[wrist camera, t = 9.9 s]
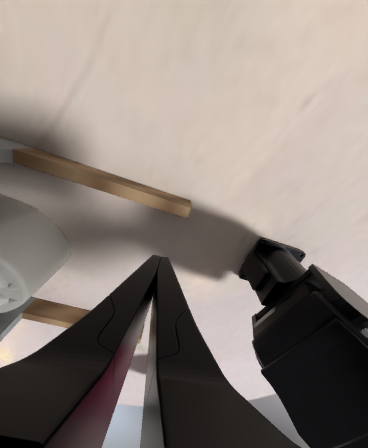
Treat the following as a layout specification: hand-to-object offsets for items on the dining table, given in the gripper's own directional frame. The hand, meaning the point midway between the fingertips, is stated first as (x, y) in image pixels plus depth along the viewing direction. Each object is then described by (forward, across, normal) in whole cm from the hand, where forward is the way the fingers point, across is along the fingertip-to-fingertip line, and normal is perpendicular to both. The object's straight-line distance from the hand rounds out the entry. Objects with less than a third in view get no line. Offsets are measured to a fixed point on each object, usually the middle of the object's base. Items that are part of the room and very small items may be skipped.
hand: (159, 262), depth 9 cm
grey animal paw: (+12, +19, +10) cm, 24 cm away
